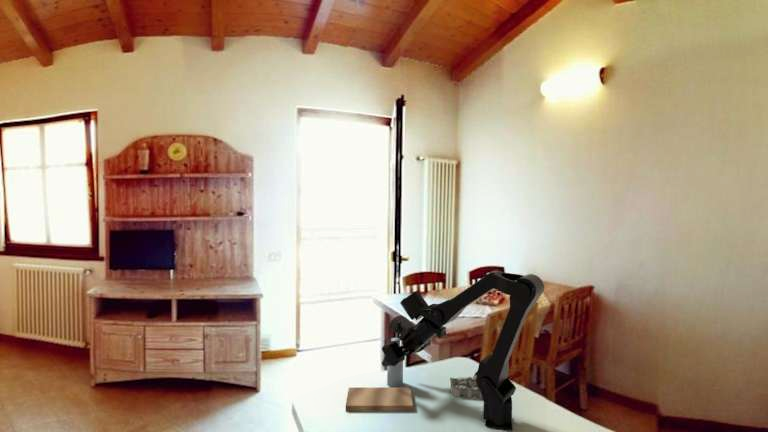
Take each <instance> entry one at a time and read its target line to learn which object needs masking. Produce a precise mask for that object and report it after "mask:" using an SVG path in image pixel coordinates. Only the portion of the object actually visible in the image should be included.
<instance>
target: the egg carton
mask: <svg viewBox="0 0 768 432" xmlns="http://www.w3.org/2000/svg"><path fill="white" fill-rule="evenodd" d="M476 377H477V375H475V374H474V375H473V376H467V377H464V376H461V377H460V376H459V377H456V378H455V377H450V378H449V380H450V391H451V392H450V393H451V395H454V396H455V397H460V396H463V395H464V396H466V397H468V398H472V397H473V396H477V397H479V398H482V395H481V392H480V389H479V388H478V385H477V384H476ZM482 399H483V398H482Z"/></svg>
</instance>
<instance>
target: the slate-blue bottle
mask: <svg viewBox="0 0 768 432" xmlns="http://www.w3.org/2000/svg"><path fill="white" fill-rule="evenodd" d="M391 341H396V342H397V344H398V345H399V347H401V346H400V343H401V342H400V339H399V338H398V337H392V338H391V339H390V342H391ZM386 367H387V369H386V370H387V371H386V372H387V373H386V374H387V376H386V378H387V379H386V380H387V383H386V385H387V387H403V386H404V360H403V361H402V362H401V363H399V364H398V365H396V366H386Z"/></svg>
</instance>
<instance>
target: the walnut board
mask: <svg viewBox="0 0 768 432" xmlns="http://www.w3.org/2000/svg"><path fill="white" fill-rule="evenodd" d="M412 397H413V396H412V390H411V387H410V386H409V387H403V386H402V387H389V386H387V387H348V390H347V396H346V402H345V411H346V412H413V411H414V403H413V398H412Z"/></svg>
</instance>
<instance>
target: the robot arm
mask: <svg viewBox="0 0 768 432" xmlns="http://www.w3.org/2000/svg"><path fill="white" fill-rule="evenodd" d="M493 290H497V291H498V292H500V293H502V294H504V295H508V296H509V298H508V299H509V310H508V312H507V314H506V317H505V319H504V321H503V325H502V327H501V331H500V333H499V335H498V338H497V339H496V340H497V341H496V343H495V345H494V348H493V350H492V352H491V354H488V355H486V356H485V357H483V359H481V360H480V361H479V364H478V368H477V370H476V371H475V373H474V375H477V377H476V384H477V385H478V386H477V388H479V389H480V392H481V395H482V400H483V420H484V423H485V424H484V425H485V427H487V428H491V429H493V428H494V429H500V430H507V431H513V427H514V426H513V400H512V396H513V395H514V394H515V393H516V390H517V388H516V386H515V384H514V383H513V382H512V381H511V379H510V378H509V376H508V375H509V370H510V366H509V361H510V358H511V355H512V353H513V350H514V348H515V346H516V343H517V341H518V338H519V336H520V333H521V331H522V328H523V326H524V324H525V322H526V319H527V316H528V314H529V312H530V311H531V309H532V308H533V307H534V306H535V305H536V304H537V302H538V300H539V299H540V297H541V295H542V294H543V293H544V291H545V284H544V282H543V279H541V277H540V276H538V275H536V274H529V273H528V274H527V275H522V274H519V273H509V272H503V271H500V270H496V269H495V270H493V271H490V272H487V273H486V274H485V275H484V276H483V277H482V278H480V279H479V280H477V281H475V282H474V283H473V284H472V285H470V286H468V287H467V288H465V289H464V290H462V291H461V292H460V293H458V294H457V295H455V296H454V297H451V298H450V299H447V300H445V301H442V302H440V303H431V304H428V303H427V302H426V300H425V299H424V297H423V296H422V293H421V292H420V291H419V290H416V291H413V292H412V293H411V294H409V295H408V296H407V297H404V298H403V299H402V300H401V301H400V302H399V303H400V305H401V308H403V310H404V311H405V313H406V315H408V317H409V319H410V320H411V321H413V320H415V321H418V320H419V321H418V322H417V323H415V325H414V324H412V322H411V321H410V320H409V319H408V318H406V317H405V316H404V315H397V316H395V317H393V318H392V319H391V321H389V322H388V324H389V325H388V328H389V330H391V331H392V332H393V333H396V334H397V335H399V336H397V338H399V339H400V341H401V346H400V347H399V345H398V344H397V342H396V341H391V340H390V341H389V342H387V343H385V344H384V345H382V347H381V350H382V352H383V354H384V357H383V359H382V361H381V365H382V367H387V366H396V365H398V364H399V363H401V362H402V361H403V362H404V361H405V360H406V356H410V355H414V354H416V353H420V352H422V351H424V350H425V349H427V348H428V347H430V346H431V345H432V342H431V341H432V340H431V339H432V338H434V337H435V336H436V337H438V339H442V338H443V337H445V336H447V327H446V325H447V324H449V323H451V322H453V321H455V320H456V319H457V318H458V317H459V316H460V315H461V314H462V313H463V311H464V310H465V309H466V308H467V307H469V306H470V305H471V304H472V303H474V302H476V301H477V300H479V299H480V298H482V297H483V296H485V295H486V294H488V293H490V292H491V291H493Z"/></svg>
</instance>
